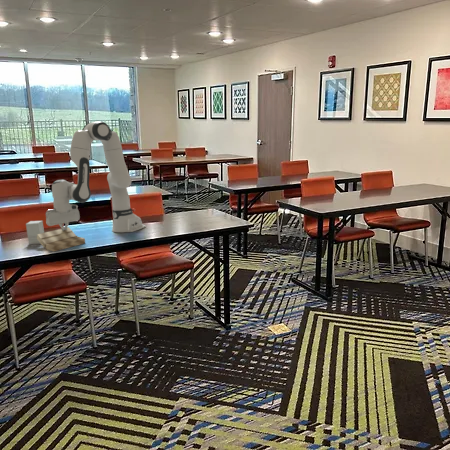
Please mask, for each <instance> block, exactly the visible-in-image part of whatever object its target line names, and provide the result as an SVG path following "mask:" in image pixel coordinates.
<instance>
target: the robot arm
mask: <svg viewBox="0 0 450 450" xmlns="http://www.w3.org/2000/svg"><path fill="white" fill-rule="evenodd" d="M94 141H100V142H101V143H102V144H101V145H102V147H103V152H104V158H105V161H106V165H107V166H108V169H109V172H108V173H107V176H106V180H107V182H108V187H109V191H110V195H111V202H112V204H111V205H112V210H111V211H112V212H111V213H112V218H113V220H112V230H111V231H112V232H113V233H133V232H136V231H138V230H141V229H144V228H147V225H145V224H144V223H143V222H142V219H141V217H140V216H138V215H137V214H135V213H134V212H136V210H137V209H136V208H132V207H131V201H130V195H129V192H128V189H127V188H129V187H130V186H131V184H132V177H131V176H130V173H129V170H128V166H127V165H126V164H127V163H126V162H125V158H124V157H125V156H124V152H123V147H122V143H121V140H120V137H119V135H118V133H117V132H116V131H113V130H112V129H111V128H110V126H109V125H108V123H106V122H104V121H97V120H96V121H92V122H88V123H87V124H85V125H84V127H83V128H82V129H78V130H75V131H74V132H73V136H72V139H71V144H70V151H69V152H70V153H69V155H70V159H71V161H72V162H73V164H75V166H76V168H77V183H76V184H75V183H72V182H70V181H67V180H66V179H57V180H55V181H53V183H52V184H51V195H52V198H53V200H52V201H53V202H52V203H53V209H48V210H46V212H45V223H46V225H47V226H49V227H52V226H57V225H58V226H59V228H60V229H61V230H62V231H64V230H67V227H69V223H71V222H77V221H79V220H80V218H81V216H80V215H81V214H80V211H79V209H78V207H79V206H78V205H77V204H73V203H70V201H71V200H72V201H75V202H77V203H81V204H84V203H86V202H88V201H89V200H90V198H91V195H92V193H91V188H90V173H91V172H90V168H91V167H90V166H91V163H90V154H91V145H92V143H93V142H94ZM64 224H65V225H64Z"/></svg>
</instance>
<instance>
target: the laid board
mask: <svg viewBox="0 0 450 450" xmlns="http://www.w3.org/2000/svg"><path fill="white" fill-rule="evenodd" d="M83 244H86V238H85V237H81V236H78V235H76V236H74V237H70V238H66V239H62V240H58V241H54V242H50V243H46V244H45V245H46V248H45V250H47V251H50V252H57V251H61V250H65V249H69V248H72V247H76V246H80V245H83Z"/></svg>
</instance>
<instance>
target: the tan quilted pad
mask: <svg viewBox="0 0 450 450" xmlns="http://www.w3.org/2000/svg"><path fill="white" fill-rule="evenodd" d="M74 236H77V235H76V234H75V232H74V231H73V230H72V229H71V228H70V227H69V226H68V227H67V230H64V231H62V230H61V228H58V229H55V230H50V231H44V233H41V234H37V240H38V241H39V242H40V243H41V244H40V245H42V247H43V248H44V249H46V245H45V244H46V243H50V242H54V241H58V240H62V239H66V238H70V237H74Z"/></svg>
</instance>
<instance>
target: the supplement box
mask: <svg viewBox="0 0 450 450" xmlns="http://www.w3.org/2000/svg"><path fill="white" fill-rule="evenodd" d="M25 227H26V235H27V240H28V244H29V245H39V244H40V245H42V244H41V243H40V242H39V241H38V240H37V234H41V233H45V229H44V220H30V221H28V222H26V223H25Z"/></svg>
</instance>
